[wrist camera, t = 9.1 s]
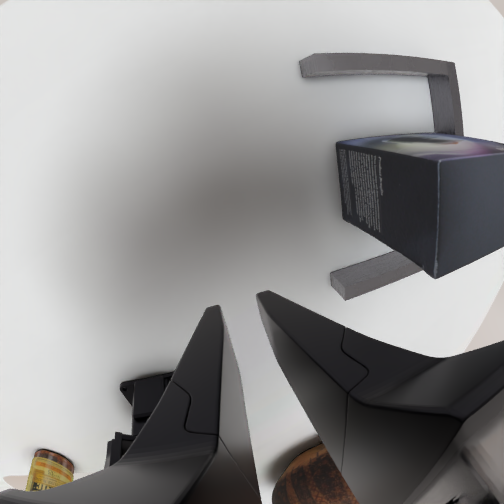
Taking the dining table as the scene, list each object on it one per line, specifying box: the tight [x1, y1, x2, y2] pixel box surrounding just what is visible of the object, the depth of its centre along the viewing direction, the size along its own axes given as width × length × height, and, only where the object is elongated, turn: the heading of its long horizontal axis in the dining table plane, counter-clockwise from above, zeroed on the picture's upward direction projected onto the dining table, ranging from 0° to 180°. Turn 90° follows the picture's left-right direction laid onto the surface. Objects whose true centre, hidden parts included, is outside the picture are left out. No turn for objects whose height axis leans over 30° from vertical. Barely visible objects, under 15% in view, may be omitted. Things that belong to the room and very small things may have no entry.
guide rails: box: [299, 53, 464, 301], centre depth 20 cm, size 17×13×2 cm
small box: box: [336, 133, 504, 279], centre depth 17 cm, size 11×6×10 cm, turn 101°
